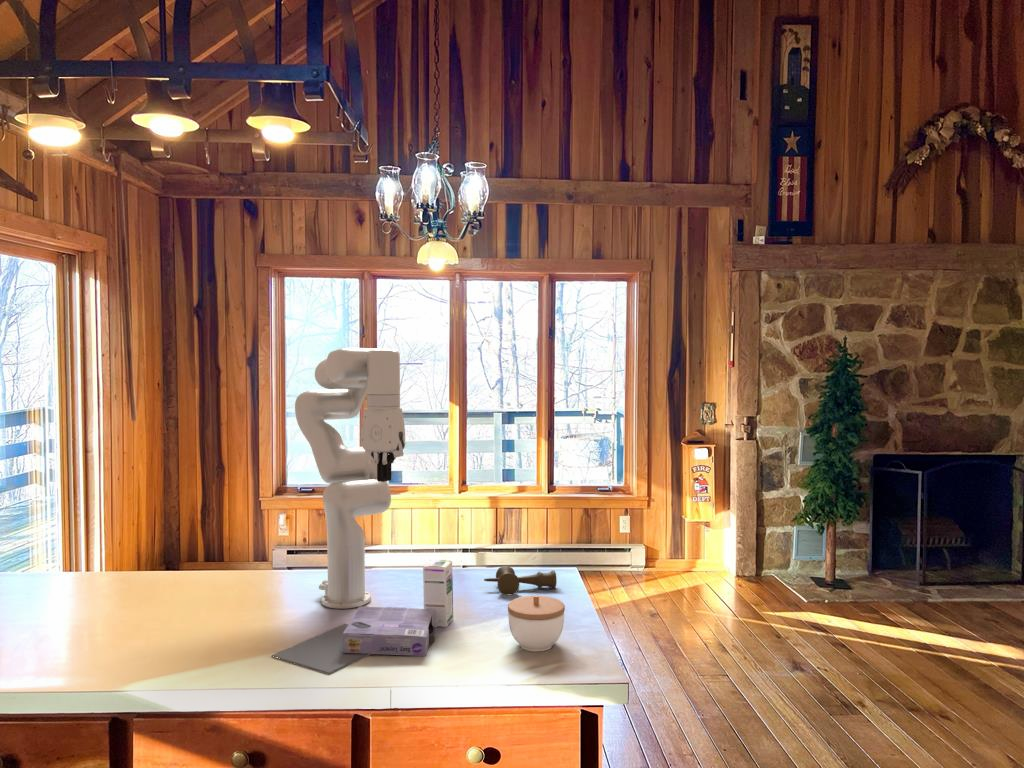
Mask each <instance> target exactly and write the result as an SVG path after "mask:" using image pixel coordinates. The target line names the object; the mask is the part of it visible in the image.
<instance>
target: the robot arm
mask: <svg viewBox="0 0 1024 768" xmlns="http://www.w3.org/2000/svg"><path fill="white" fill-rule="evenodd" d="M400 364H401V357H400V353H399V351H398V350H397V349H394V348H381V347H379V348H377V347H375V348H372V347H371V348H367V347H365V348H364V347H349V348H348V347H346V348H345V347H344V348H338V349H336V350H332V351H330V352H329V353H328V355H327V357H326V359H323V360H322V361H320V362H319V363H318V364H317V366H316V368H315V370H314V379H315V381H316V382H317V384H318V385H319V386H320V387H322V388H324V389H311V390H310V389H309V390H307V391H304V392H301V393H300V394H299V395H298V396H297V397H296V399H295V402H294V413H295V418H296V422H297V425H298V427H299V429H300V431H301V433H302V434H303V436H304V437H305V439H306V441H307V443H308V444H309V446H310V449H311V450H312V451H311V452H312V454H313V458H314V461H315V464H316V467H317V471H318V473H319V475H320V477H321V479H322V481H324V483H326V484H329V485H327V486H326V487H325V489H324V491H323V493H322V504H323V510H324V515H325V521H326V538H327V539H326V543H327V545H326V546H327V548H326V549H327V552H326V553H327V554H326V555H327V557H326V558H327V579H324V580H323V581H322V583H321V584H319V586H318V589H319V590H321V591H324V595H323V596H322V597H321V604H322V605H323V606H324V607H327V608H329V609H340V610H343V609H353V608H359V607H360V606H362V607H363V606H365V605H367V604H368V603H370V602H371V601H372V594H371V593H370V592H368V591H366V576H365V575H366V569H365V567H366V561H365V559H366V557H365V556H366V555H365V552H366V551H365V550H366V549H365V544H366V543H365V539H366V538H365V532H364V529H363V528H362V526H361V525H360V524H359V523H358V522H357V521H356V517H361V516H368V515H369V516H370V515H377V514H382V513H385V512H387V510H389V508H390V506H391V503H392V502H391V501H392V495H391V490H390V487H389V483H388V482H389V481H392V464H394V463H395V462H394V461H395V460H396V458H400V457H403V456H404V453H405V452H404V449H405V447H406V428H405V427H406V426H405V417H404V412H403V408H401V365H400ZM364 401H365V403H366V404H367V406H366V407H364V409H363V415H362V421H361V430H360V431H361V432H360V433H361V434H360V446H350V447H348V446H346V445H345V443H344V442H343V441H344V440H343V439H342V435H341V434H340V432H339V431H338V430H337V429H336V428H335V427H333V426H332V425H331V424H329V423H328V422H326V421H327V420H330V421H331V420H344V419H345V420H347V419H348V420H349V419H354V418H355V417H357V416H358V415H359V413H360V411H361V409H362V406H363V402H364Z"/></svg>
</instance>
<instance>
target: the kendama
mask: <svg viewBox="0 0 1024 768" xmlns="http://www.w3.org/2000/svg"><path fill="white" fill-rule="evenodd" d="M483 581H484V582H493V583H494V582H495V583H496V584H497V589H498V591H499V593H501V594H503V595H504V594H512V595H514V594H516V593H517V592H518V591H519V588H520V584H527V585H533V586H536V587H538V588H542V587H548V588H551V589H552V590H555V589H556V587H557V573H556V571H555V570H551V571H549V572H544V573H543V572H541V571H538V572H536V573H535V574H531V575H524V576H518V575H516V572H515V570H514V569H513V567H511V566H508V565H503V566H500V567H499V568H498V569H497V570H496V572H495V578H494V577H493V578H492V577H491V578H490V577H489V578H484V579H483Z"/></svg>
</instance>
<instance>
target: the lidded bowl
mask: <svg viewBox="0 0 1024 768" xmlns="http://www.w3.org/2000/svg"><path fill="white" fill-rule="evenodd" d="M565 606H566V605H565V604H564V602H562V601H561V600H560V599H557V598H555V597H550V596H546V595H545V596H544V595H542V596H541V595H537V594H536V595H528V596H527V595H526V596H521V597H517V598H515V599H512V600H511V601H509V603H508V604H507V612H508V614H507V615H508V616H507V618H508V625H509V631H510V633H511V635H512V637H513V639H514V641H515V642H517V644H519V646H521V647H522V648H521V647H520V648H521V649H523V650H525V651H529V652H544V651H545V652H546V651H548V650H550V649H552V648H553V645H554V644H555V643H557V641H558V640H559V639H560V637H561V635H562V632H563V629H564V623H565V610H566V607H565Z"/></svg>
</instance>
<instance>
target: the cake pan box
mask: <svg viewBox="0 0 1024 768" xmlns="http://www.w3.org/2000/svg"><path fill="white" fill-rule="evenodd" d="M347 624H348V626H347V628H346V629H345V631H344V632H343V634H342V653H362V654H370V655H389V656H390V655H395V656H414V657H415V656H417V657H418V656H419V657H426V656H427V652H428V648H429V646H431V645H432V644H433V643H434V642H435V639H436V636H435V627H434V609H424V608H415V607H414V608H411V607H398V606H397V607H395V606H394V607H393V606H387V607H382V606H381V607H380V606H377V607H376V606H363V605H362V606H359V607H357V610H356V611H355V613H354V614H353V616H352V617H351V620H350V621H349V623H347Z"/></svg>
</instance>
